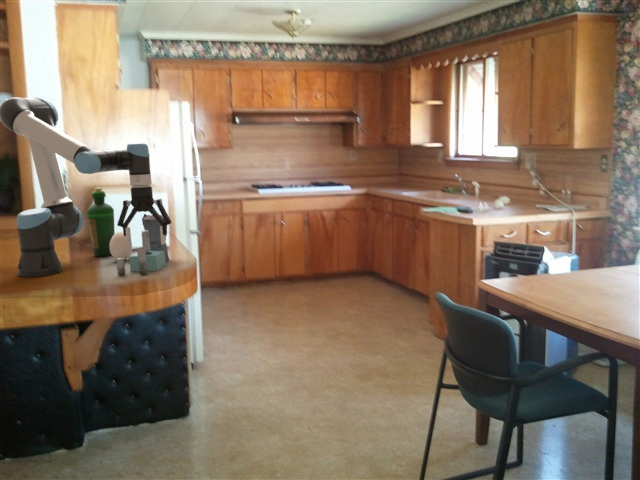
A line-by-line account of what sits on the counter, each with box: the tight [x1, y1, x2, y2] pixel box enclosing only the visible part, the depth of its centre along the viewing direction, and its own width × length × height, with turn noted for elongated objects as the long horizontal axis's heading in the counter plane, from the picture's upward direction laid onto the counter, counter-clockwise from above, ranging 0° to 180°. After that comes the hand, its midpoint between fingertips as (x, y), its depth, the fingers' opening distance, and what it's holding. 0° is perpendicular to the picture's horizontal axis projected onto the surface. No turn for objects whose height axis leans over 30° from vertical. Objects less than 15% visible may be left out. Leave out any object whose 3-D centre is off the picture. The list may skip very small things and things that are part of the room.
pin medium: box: [136, 245, 148, 276], centre depth 228 cm, size 3×3×10 cm
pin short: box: [115, 258, 126, 277], centre depth 229 cm, size 3×3×6 cm
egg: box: [109, 231, 133, 261], centre depth 256 cm, size 9×9×12 cm
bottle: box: [86, 187, 116, 258], centre depth 267 cm, size 11×11×28 cm
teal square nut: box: [128, 251, 166, 272], centre depth 239 cm, size 10×10×6 cm
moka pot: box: [141, 210, 170, 263], centre depth 251 cm, size 10×15×20 cm, turn 53°
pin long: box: [140, 229, 151, 255], centre depth 238 cm, size 3×3×14 cm
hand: (146, 244), depth 238 cm, fingers open, 12 cm apart
